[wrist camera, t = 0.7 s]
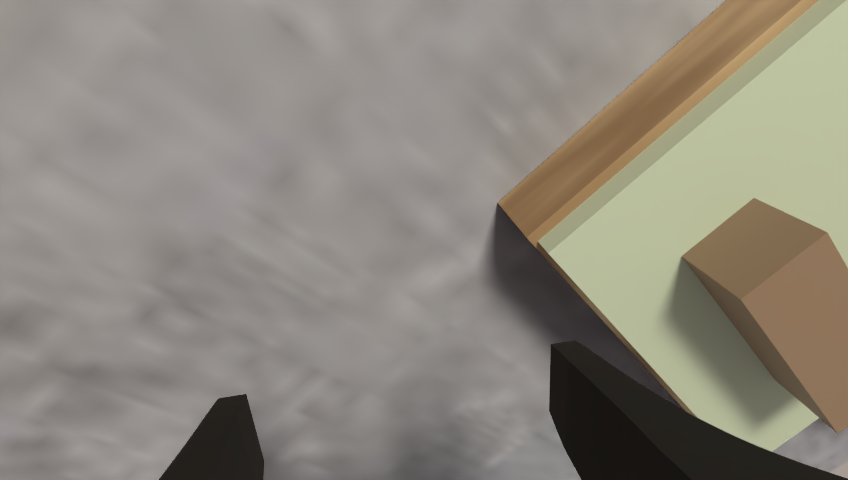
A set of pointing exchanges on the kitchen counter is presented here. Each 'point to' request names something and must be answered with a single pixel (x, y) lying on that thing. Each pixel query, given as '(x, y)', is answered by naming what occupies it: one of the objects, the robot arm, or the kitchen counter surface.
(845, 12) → the lid
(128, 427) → the kitchen counter surface
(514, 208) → the wooden slab
